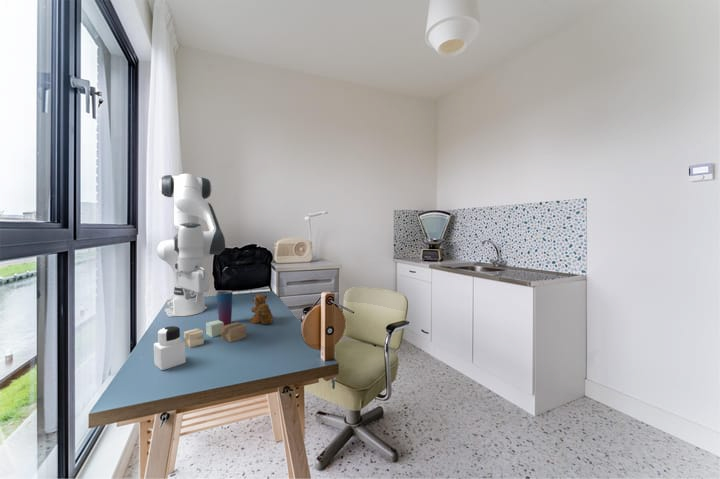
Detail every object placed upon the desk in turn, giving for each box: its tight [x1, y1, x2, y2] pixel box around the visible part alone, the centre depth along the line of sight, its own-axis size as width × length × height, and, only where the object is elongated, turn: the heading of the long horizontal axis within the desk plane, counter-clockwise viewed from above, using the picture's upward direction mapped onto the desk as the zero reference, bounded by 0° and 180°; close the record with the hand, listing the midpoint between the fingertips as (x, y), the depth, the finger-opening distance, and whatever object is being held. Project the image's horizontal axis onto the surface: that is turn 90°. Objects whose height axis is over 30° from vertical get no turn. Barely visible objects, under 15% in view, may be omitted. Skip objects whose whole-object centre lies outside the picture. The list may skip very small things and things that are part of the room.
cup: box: [215, 290, 233, 326], centre depth 136 cm, size 7×7×15 cm
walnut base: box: [220, 321, 248, 343], centre depth 120 cm, size 7×7×5 cm
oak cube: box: [183, 327, 205, 349], centre depth 113 cm, size 5×5×5 cm
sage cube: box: [205, 319, 224, 338], centre depth 124 cm, size 5×5×5 cm
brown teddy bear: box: [248, 293, 274, 326], centre depth 138 cm, size 10×14×13 cm
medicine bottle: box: [153, 325, 187, 371], centre depth 97 cm, size 7×7×12 cm
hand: (192, 301), depth 113 cm, fingers open, 8 cm apart
